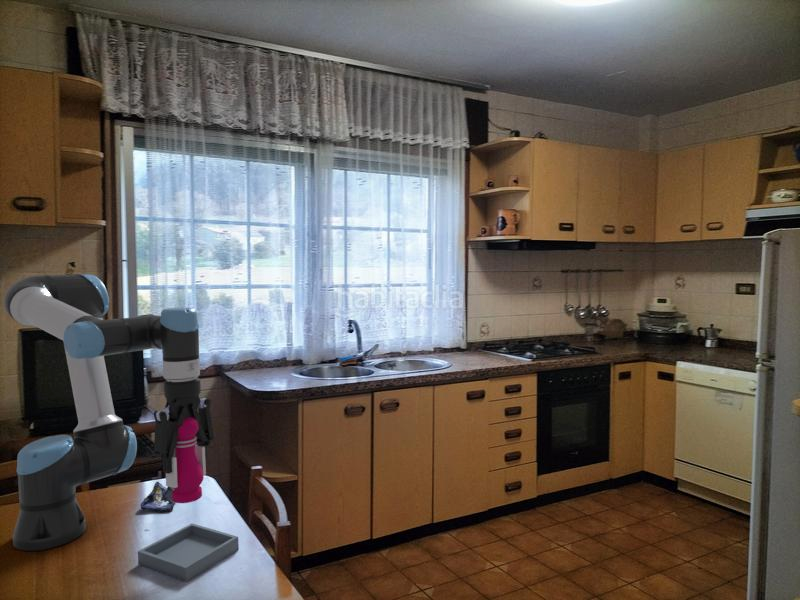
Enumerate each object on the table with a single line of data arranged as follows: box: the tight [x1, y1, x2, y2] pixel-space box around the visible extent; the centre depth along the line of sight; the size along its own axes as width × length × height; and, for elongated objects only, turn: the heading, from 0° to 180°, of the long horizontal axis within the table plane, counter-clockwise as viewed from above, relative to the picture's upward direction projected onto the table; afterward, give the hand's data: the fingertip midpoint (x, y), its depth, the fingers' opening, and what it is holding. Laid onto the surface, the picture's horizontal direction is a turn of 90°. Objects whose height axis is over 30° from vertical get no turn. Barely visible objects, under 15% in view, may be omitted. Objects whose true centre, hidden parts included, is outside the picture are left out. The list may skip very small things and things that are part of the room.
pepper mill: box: [172, 417, 205, 504], centre depth 128 cm, size 7×7×20 cm
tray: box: [137, 523, 240, 583], centre depth 130 cm, size 15×15×3 cm
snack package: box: [140, 481, 176, 513], centre depth 158 cm, size 12×6×12 cm
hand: (186, 480), depth 128 cm, fingers closed on pepper mill, 7 cm apart
